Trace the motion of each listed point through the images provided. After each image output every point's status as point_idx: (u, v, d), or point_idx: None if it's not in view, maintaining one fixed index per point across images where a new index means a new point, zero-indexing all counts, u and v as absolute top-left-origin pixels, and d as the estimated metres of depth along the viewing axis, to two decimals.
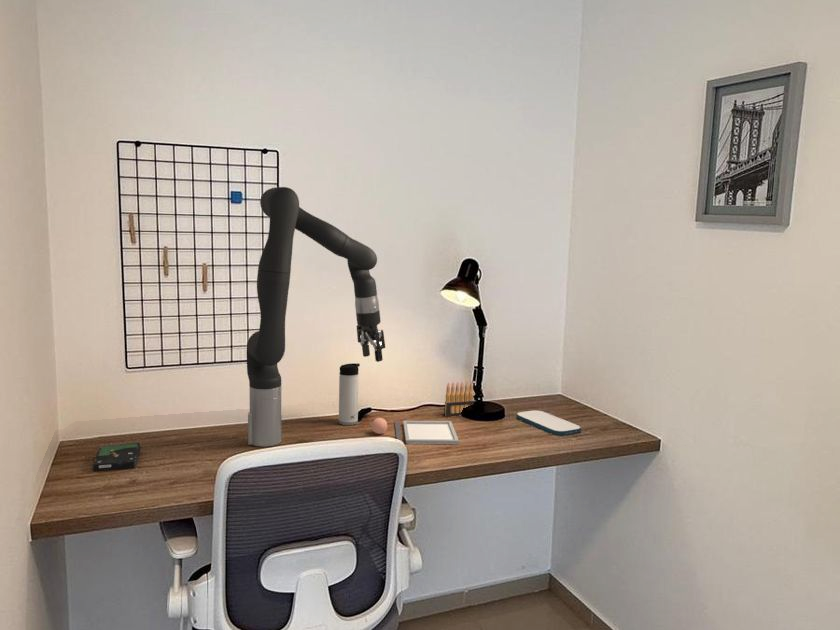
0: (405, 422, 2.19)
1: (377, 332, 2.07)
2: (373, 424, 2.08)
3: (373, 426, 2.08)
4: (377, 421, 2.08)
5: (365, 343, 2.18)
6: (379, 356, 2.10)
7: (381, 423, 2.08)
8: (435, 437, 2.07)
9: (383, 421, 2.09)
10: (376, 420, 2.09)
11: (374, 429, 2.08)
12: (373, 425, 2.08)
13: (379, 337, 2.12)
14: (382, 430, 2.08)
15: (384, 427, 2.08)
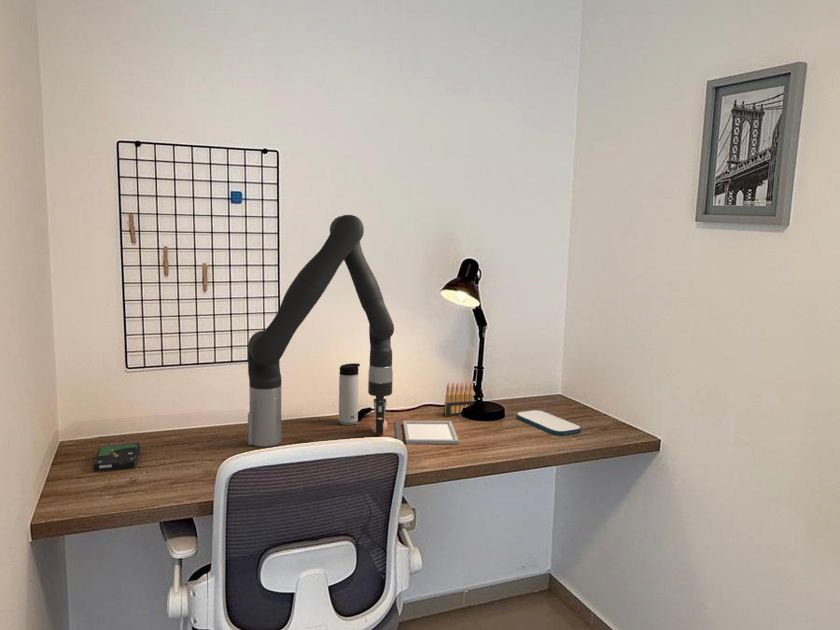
0: (405, 422, 2.19)
1: (377, 407, 2.02)
2: (373, 424, 2.08)
3: (373, 426, 2.08)
4: None
5: None
6: (378, 430, 2.06)
7: None
8: (435, 437, 2.07)
9: None
10: None
11: (374, 429, 2.08)
12: (373, 425, 2.08)
13: (384, 410, 2.07)
14: None
15: (384, 427, 2.08)
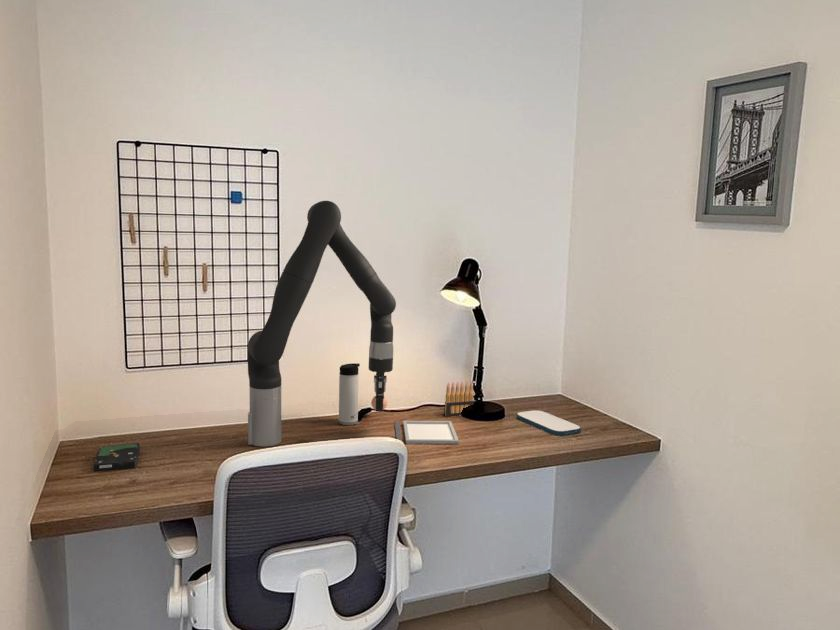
0: (405, 422, 2.19)
1: (377, 383, 2.01)
2: (373, 401, 2.07)
3: (373, 403, 2.07)
4: None
5: (379, 392, 2.11)
6: (378, 406, 2.05)
7: None
8: (435, 437, 2.07)
9: None
10: None
11: (374, 406, 2.07)
12: (373, 402, 2.07)
13: (384, 387, 2.05)
14: None
15: (383, 404, 2.07)
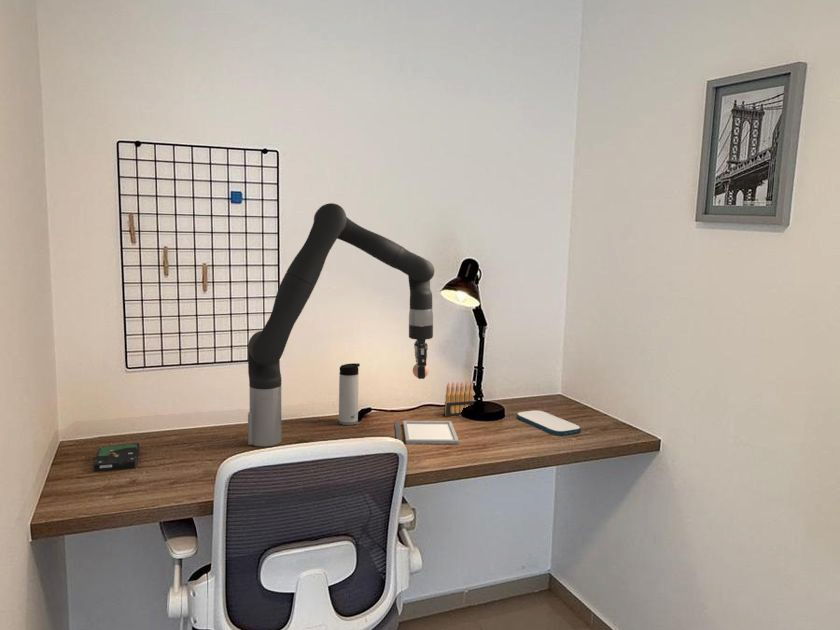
0: (405, 422, 2.19)
1: (419, 350, 2.01)
2: (414, 368, 2.07)
3: (415, 370, 2.07)
4: None
5: (420, 360, 2.11)
6: (420, 373, 2.05)
7: None
8: (435, 437, 2.07)
9: None
10: None
11: (416, 373, 2.07)
12: (415, 369, 2.07)
13: (426, 354, 2.05)
14: None
15: (425, 371, 2.07)
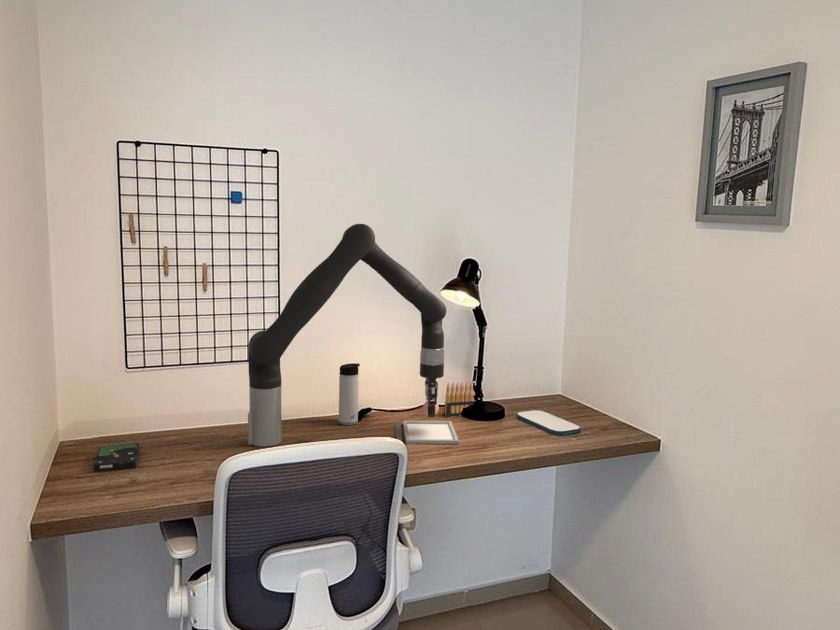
0: (405, 422, 2.19)
1: (430, 389, 2.03)
2: (425, 406, 2.09)
3: (425, 408, 2.09)
4: None
5: None
6: (431, 412, 2.07)
7: None
8: (435, 437, 2.07)
9: None
10: None
11: (426, 411, 2.08)
12: (425, 407, 2.09)
13: None
14: None
15: (435, 409, 2.08)
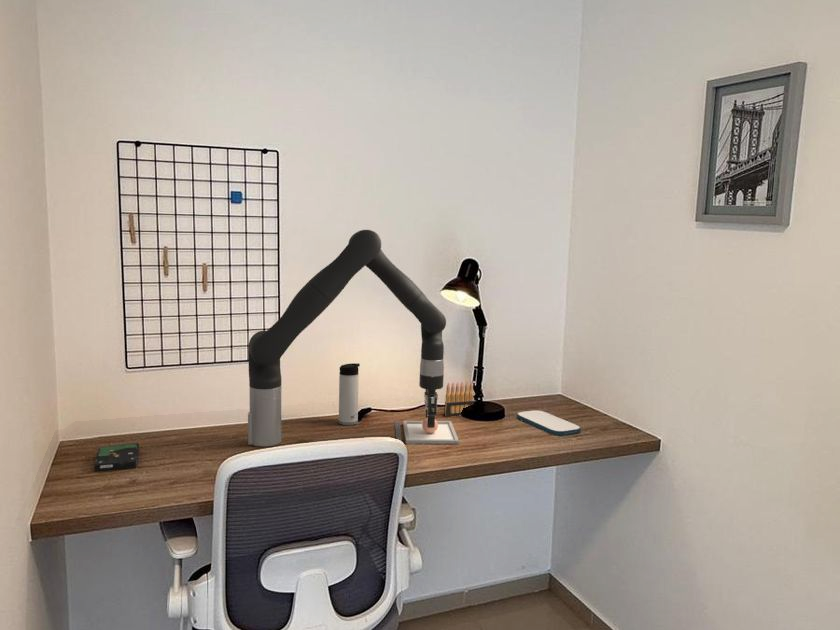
0: (405, 422, 2.19)
1: (430, 399, 2.03)
2: (424, 423, 2.09)
3: (424, 425, 2.09)
4: None
5: None
6: (430, 422, 2.06)
7: None
8: (435, 437, 2.07)
9: None
10: (427, 419, 2.10)
11: (425, 428, 2.09)
12: (424, 424, 2.09)
13: None
14: (433, 429, 2.09)
15: (435, 426, 2.09)
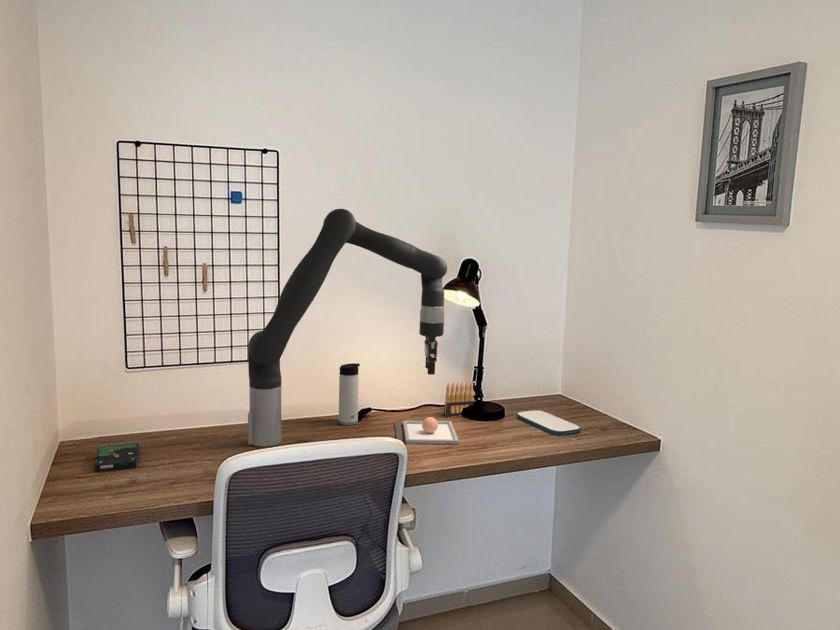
0: (405, 422, 2.19)
1: (430, 343, 2.01)
2: (424, 423, 2.09)
3: (424, 425, 2.09)
4: (429, 420, 2.09)
5: (429, 355, 2.12)
6: (430, 369, 2.03)
7: (432, 422, 2.09)
8: (435, 437, 2.07)
9: (434, 420, 2.10)
10: (427, 419, 2.10)
11: (425, 428, 2.09)
12: (424, 424, 2.09)
13: None
14: (433, 429, 2.09)
15: (435, 426, 2.09)
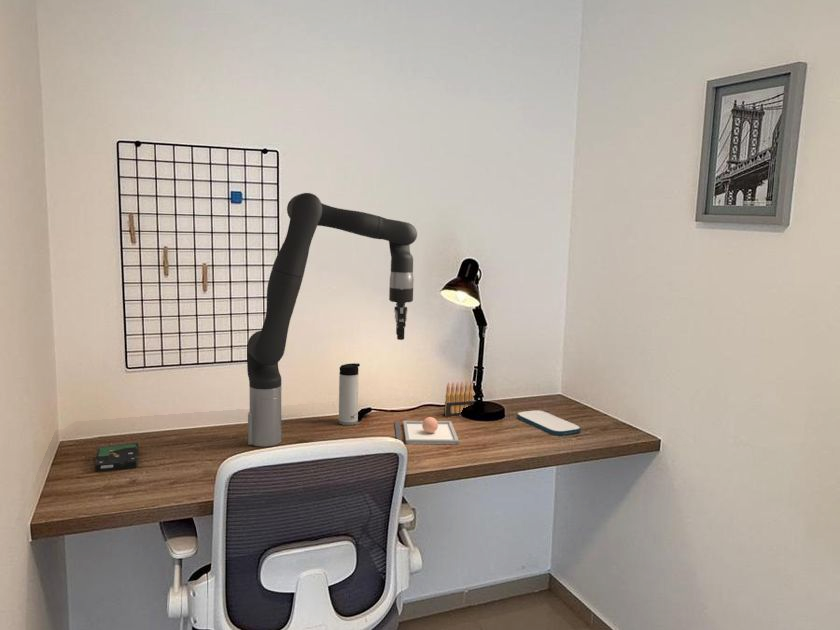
0: (405, 422, 2.19)
1: (399, 308, 2.03)
2: (424, 423, 2.09)
3: (424, 425, 2.09)
4: (429, 420, 2.09)
5: (400, 321, 2.15)
6: (400, 334, 2.06)
7: (432, 422, 2.09)
8: (435, 437, 2.07)
9: (434, 420, 2.10)
10: (427, 419, 2.10)
11: (425, 428, 2.09)
12: (424, 424, 2.09)
13: (405, 316, 2.07)
14: (433, 429, 2.09)
15: (435, 426, 2.09)
